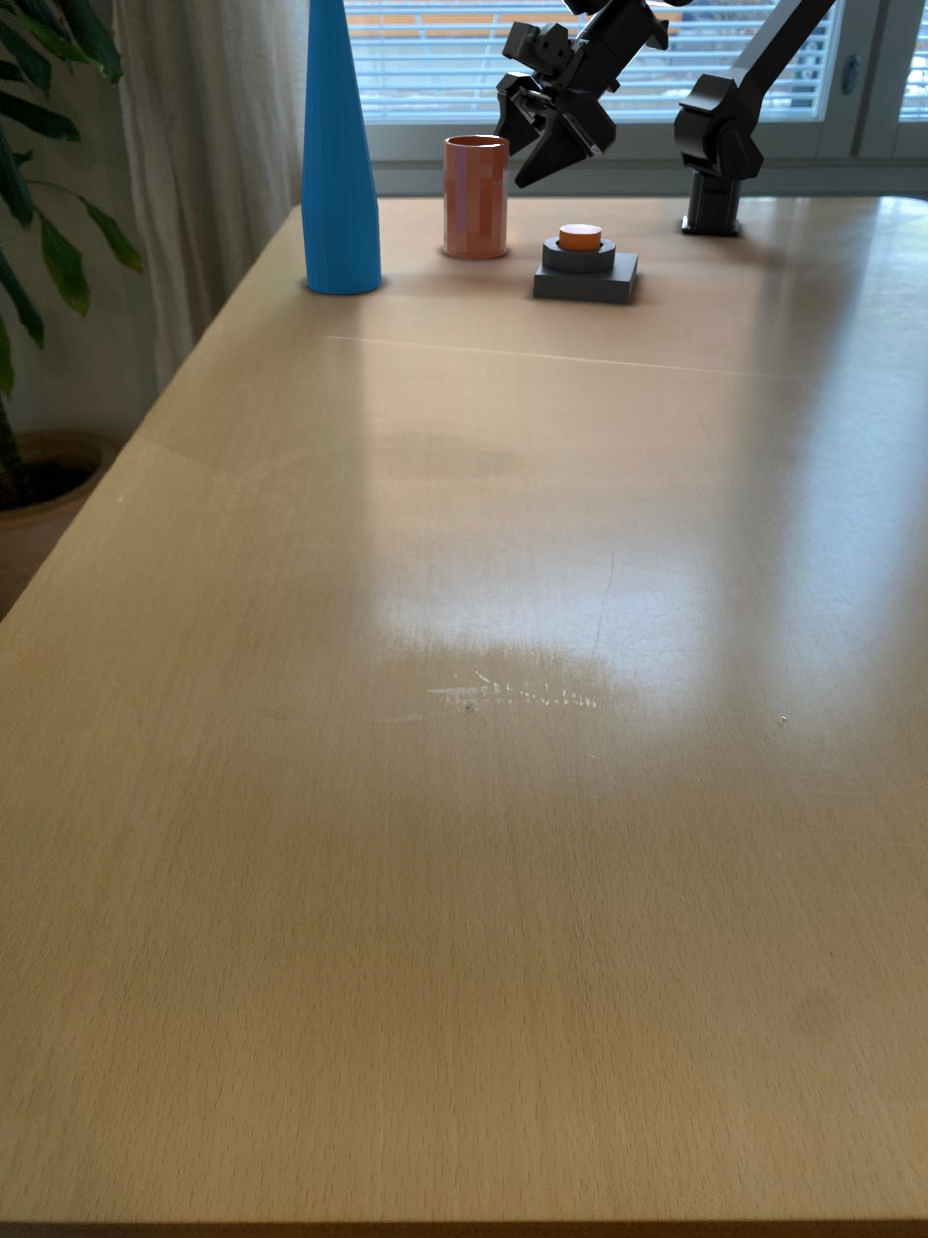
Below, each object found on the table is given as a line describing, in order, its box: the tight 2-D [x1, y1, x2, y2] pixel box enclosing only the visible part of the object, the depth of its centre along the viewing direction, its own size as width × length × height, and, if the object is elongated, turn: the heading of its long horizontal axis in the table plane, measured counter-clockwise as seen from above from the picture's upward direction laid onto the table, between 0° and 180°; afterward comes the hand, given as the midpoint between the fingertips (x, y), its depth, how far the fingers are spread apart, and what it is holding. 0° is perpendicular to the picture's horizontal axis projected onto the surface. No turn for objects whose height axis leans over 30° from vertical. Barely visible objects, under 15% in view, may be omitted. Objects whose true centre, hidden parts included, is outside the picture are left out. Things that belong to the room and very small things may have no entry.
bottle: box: [300, 0, 383, 295], centre depth 85 cm, size 7×7×30 cm
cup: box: [442, 134, 510, 260], centre depth 101 cm, size 7×7×11 cm
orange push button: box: [558, 223, 602, 250], centre depth 91 cm, size 4×4×2 cm
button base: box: [532, 235, 639, 306], centre depth 92 cm, size 10×9×4 cm
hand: (499, 176), depth 100 cm, fingers open, 9 cm apart
